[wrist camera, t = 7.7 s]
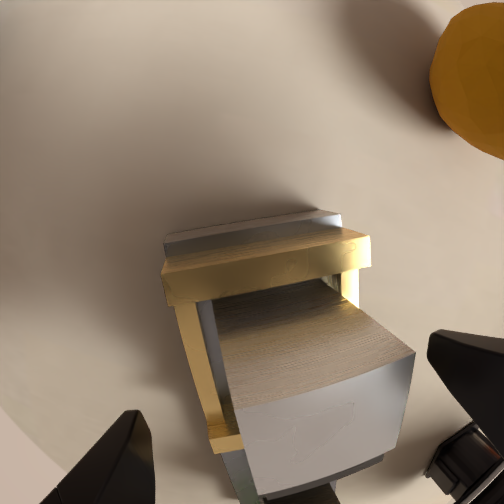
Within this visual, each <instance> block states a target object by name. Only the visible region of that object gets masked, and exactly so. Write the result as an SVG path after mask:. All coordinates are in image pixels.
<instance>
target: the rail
mask: <svg viewBox="0 0 504 504" xmlns="http://www.w3.org/2000/svg"><path fill="white" fill-rule="evenodd" d="M163 244H164V249H165V254H166V260H165V263H164V266H163V269H162V272H161V278H162V283H163V287H164V291H165V296H166V300H167V304H168V307H170V306H174V310H175V314H176V318H177V322H178V326H179V330H180V333H181V337H182V341H183V345H184V348H185V352H186V355H187V359H188V362H189V366H190V369H191V373H192V376H193V380H194V383H195V386H196V389H197V393H198V396H199V399H200V402H201V405H202V408H203V411H204V414H205V417H206V420H207V429H208V437H209V441H210V444H211V447H212V449H213V452H214V454H218V453H221V456H222V459H223V461H224V464H225V467H226V469H227V472H228V475H229V477H230V480H231V482H232V485H233V487H234V490H235V492H236V495H237V497H238V500H239V502H240V504H340V502H339V500H338V498H337V496H336V494H335V488H336V480H335V481H332V482H329V483H326V484H323V485H320V486H317V487H314V488H311V489H308V490H305V491H301V492H298V493H294V494H291V495H287V496H283V497H279V498H275V499H271V500H267V498H266V494H263V495H258V493H257V490H256V486H255V483H254V480H253V476H252V473H251V470H250V466H249V463H248V459H247V456H246V452H245V449H244V445H243V442H242V438H241V434H240V431H239V427H238V423H237V419H236V415H235V412H234V407H233V403H232V399H231V394H230V390H229V385H228V381H227V376H226V372H225V367H224V362H223V357H222V352H221V348H220V343H219V338H218V333H217V327H216V322H215V317H214V312H213V306H212V301H211V299H215V298H221V297H226V296H231V295H237V294H242V293H247V292H252V291H257V290H262V289H267V288H272V287H277V286H282V285H287V284H291V283H296V282H301V281H306V280H310V279H315V278H320V279H321V280H322V281H324V282H325V283H326V284H328V285H329V286H330V287H332V288H333V289H334V290H336V291H337V292H338V293H340V294H341V295H342V296H343V297H345V298H346V299H347V300H349V301H350V302H351V303H353V304H354V305H355V306H357V307H358V269H359V268H364V267H368V266H371V258H370V236H368V235H365V234H361V233H358V232H355V231H352V230H349V229H346V228H343V227H342V224H341V214H338V213H333V212H329V211H324V210H313V211H306V212H299V213H293V214H286V215H279V216H273V217H266V218H260V219H254V220H248V221H241V222H235V223H229V224H223V225H217V226H212V227H206V228H200V229H194V230H189V231H183V232H177V233H172V234H168V235H167V237H166V239H165V241H164V243H163Z"/></svg>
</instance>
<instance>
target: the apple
mask: <svg viewBox="0 0 504 504" xmlns="http://www.w3.org/2000/svg"><path fill="white" fill-rule="evenodd" d="M429 83H430V87H431V91H432V95H433V100H434V102H435V105H436V107H437V110H438V112H439V115H440V117H441V118H442V119H443V120H444V121H445V122H446V124H447V125H448V126H449V127H450V128H451V129H452V130H453V131H454V132H455V133H456V134H458V135H459V136H460V137H462V138H463V139H464V140H466V141H467V142H468V143H469V144H471V145H472V146H474V147H476V148H478V149H479V150H481V151H483V152H485V153H488V154H490V155H493V156H495V157H497V158H500V159H502V160H504V3H497V2H492V3H485V4H480V5H474V6H472V7H469V8H467V9H464V10H463V11H461V12H460V13H458V14H457V15H456V16H454V17H453V18H452V19H451V20H450V22H449V24H448V26H447V27H446V29H445V31H444V32H443V34H442V36H441V37H440V39H439V41H438V45H437V48H436V51H435V55H434V58H433V61H432V64H431V67H430V75H429Z"/></svg>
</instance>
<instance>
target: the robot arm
mask: <svg viewBox="0 0 504 504" xmlns="http://www.w3.org/2000/svg"><path fill="white" fill-rule="evenodd" d="M427 359H428V361H429V363H430V364H431V365H432V367H433V368H434V370H435V371H436V373H437V374H438V375H439V377H440V378H441V380H442V381H443V383H444V384H445V386H446V387H447V389H448V390H449V391H450V393H451V394H452V395H453V396H454V398H455V399H456V400H457V401H458V402H459V403H460V405H461V406H462V407H463V408H464V410H465V411H466V412H467V413H468V414H469V416H470V417H471V418H472V419H473V421H474V422H473V423H472V424H470V425H469V426H468V427H466V428H465V429H463V430H462V431H461V432H459V433H458V434H456V435H455V436H453V437H452V438H450V439H449V440H447V441H446V442H444V443H443V444H441V445H440V446H439V448H438V450H437V452H436V455H435V457H434V459H433V461H432V463H431V465H430V467H429V469H428V471H427V473H426V475H425V477H426V478H429V477H431V478H432V479H433V480H434V481H435V483H436V484H437V485H438V486H439V487H440V489H441V490H442V491H443V492H444V493H445V495H449V494H450V495H451V496H452V497H453V498H454V499H455V501H456V502H455V503H454V504H467V503H468V502H470V501H471V500H472V499H473V498H474V497H475V496H476V495H477V494H478V493H479V492H480V491H481V490H482V489H483V488H485V487H486V486H487V485H488V484H489V483H490V482H491V480H492V479H493V478H494V477H495V476H496V475H497V474H498V473H499V472H500V471H501V470H502V469H503V468H504V339H502V338H495V337H488V336H481V335H475V334H468V333H462V332H455V331H449V330H443V329H440V330H437V331H435V332H433V333H431V335H430V337H429V343H428V349H427ZM478 428H480V429H481V430H482V432H483V433H484V434H485V436H486V437H487V438H486V437H485V436H484V435H483V434H482V433H481V432H480V431H479V430H478ZM40 504H155V472H154V462H153V450H152V437H151V432H150V429H149V427H148V425H147V423H146V421H145V419H144V417H143V415H142V413H141V412H140V411H139V410H127V411H125V412H123V414H122V415H121V416H120V417H119V418H118V419H117V420H116V421H115V422H114V424H113V425H112V426H111V427H110V428H109V429H108V430H107V431H106V432H105V433H104V435H103V436H102V437H101V438H100V439H99V440H98V441H97V442H96V443H95V444H94V446H93V447H92V448H91V449H90V450H89V451H88V452H87V453H86V454H85V455H84V457H83V458H82V459H81V460H80V461H79V462H78V463H77V464H76V465H75V466H74V467H73V469H72V470H71V471H70V472H69V473H68V474H67V475H66V476H65V477H64V478H63V479H62V480H61V482H60V483H59V484H58V485H57V488H54V489H53V490H52V491H51V492H50V494H48V495H47V496H46V498H44V499H43V501H41V502H40ZM469 504H504V470H503V471H502V472H501V473H500V474H499V475H498V476H497V477H496V478H495V479H494V480H493V481H492V482H491V483H490V484H489V485H488V486H487V487H486V488H485V489H484V490H483V491H482V492H481V493H480V494H479V495H478V496H477V497H476V498H475V499H474V500H473V501H471V502H470V503H469Z"/></svg>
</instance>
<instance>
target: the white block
mask: <svg viewBox="0 0 504 504" xmlns="http://www.w3.org/2000/svg"><path fill="white" fill-rule="evenodd" d="M211 301H212V306H213V312H214V317H215V322H216V327H217V333H218V338H219V343H220V348H221V352H222V357H223V362H224V367H225V372H226V376H227V381H228V385H229V390H230V394H231V399H232V403H233V407H234V412H235V415H236V419H237V423H238V427H239V431H240V434H241V438H242V442H243V445H244V449H245V452H246V456H247V459H248V463H249V466H250V470H251V473H252V476H253V480H254V483H255V486H256V490H257V493H258V495H263V494H266V498H267V500H271V499H275V498H279V497H283V496H287V495H291V494H294V493H298V492H301V491H305V490H308V489H311V488H314V487H317V486H320V485H323V484H326V483H329V482H332V481H335V480H337V479H340V478H343V477H345V476H348V475H351V474H353V473H356V472H358V471H360V470H363V469H365V468H367V467H370V466H372V465H374V464H376V463H379V462H381V461H382V460H383V456H384V453H385V452H387V451H390V450H392V449H394V448H395V446H396V443H397V439H398V436H399V432H400V428H401V424H402V420H403V416H404V412H405V408H406V403H407V398H408V394H409V389H410V384H411V378H412V373H413V367H414V360H415V354H416V352H415V351H414V350H412V349H411V348H410V347H408V346H407V345H406V344H405V343H403V342H402V341H401V340H399V339H398V338H397V337H396V336H394V335H393V334H392V333H390V332H389V331H388V330H387V329H385V328H384V327H383V326H381V325H380V324H379V323H378V322H376V321H375V320H374V319H372V318H371V317H370V316H368V315H367V314H366V313H364V312H363V311H362V310H361V309H359V308H358V307H357V306H355V305H354V304H353V303H351V302H350V301H349V300H347V299H346V298H345V297H343V296H342V295H341V294H340V293H338V292H337V291H336V290H334V289H333V288H332V287H330V286H329V285H328V284H326V283H325V282H324V281H322V280H321V279H320V278H315V279H310V280H306V281H301V282H296V283H291V284H287V285H282V286H277V287H272V288H267V289H262V290H257V291H252V292H247V293H242V294H237V295H231V296H226V297H221V298H215V299H211Z"/></svg>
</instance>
